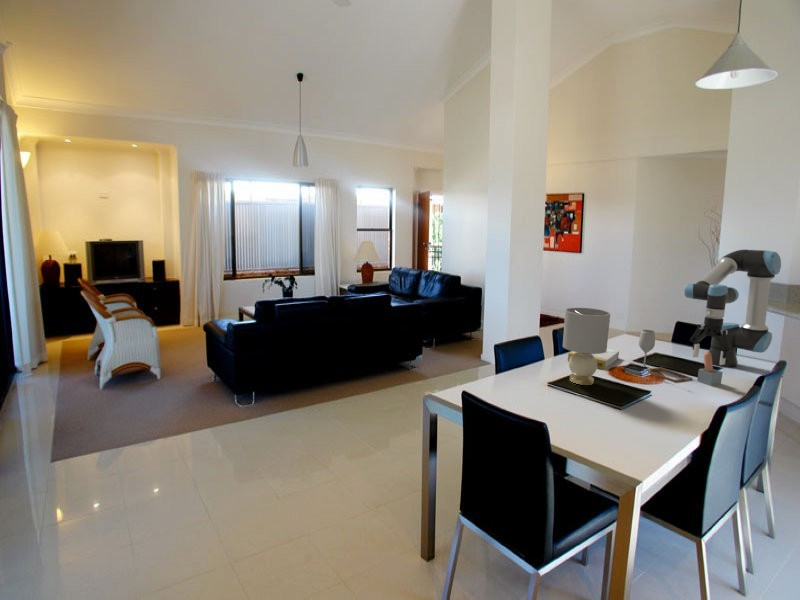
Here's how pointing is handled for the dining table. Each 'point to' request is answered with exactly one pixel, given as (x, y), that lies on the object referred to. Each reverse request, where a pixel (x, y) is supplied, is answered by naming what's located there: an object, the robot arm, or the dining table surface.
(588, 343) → the lamp
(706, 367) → the tan rounded bar
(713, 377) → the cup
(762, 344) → the robot arm
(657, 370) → the tray
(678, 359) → the dining table surface
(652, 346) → the wineglass
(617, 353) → the cereal box
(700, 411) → the dining table surface
